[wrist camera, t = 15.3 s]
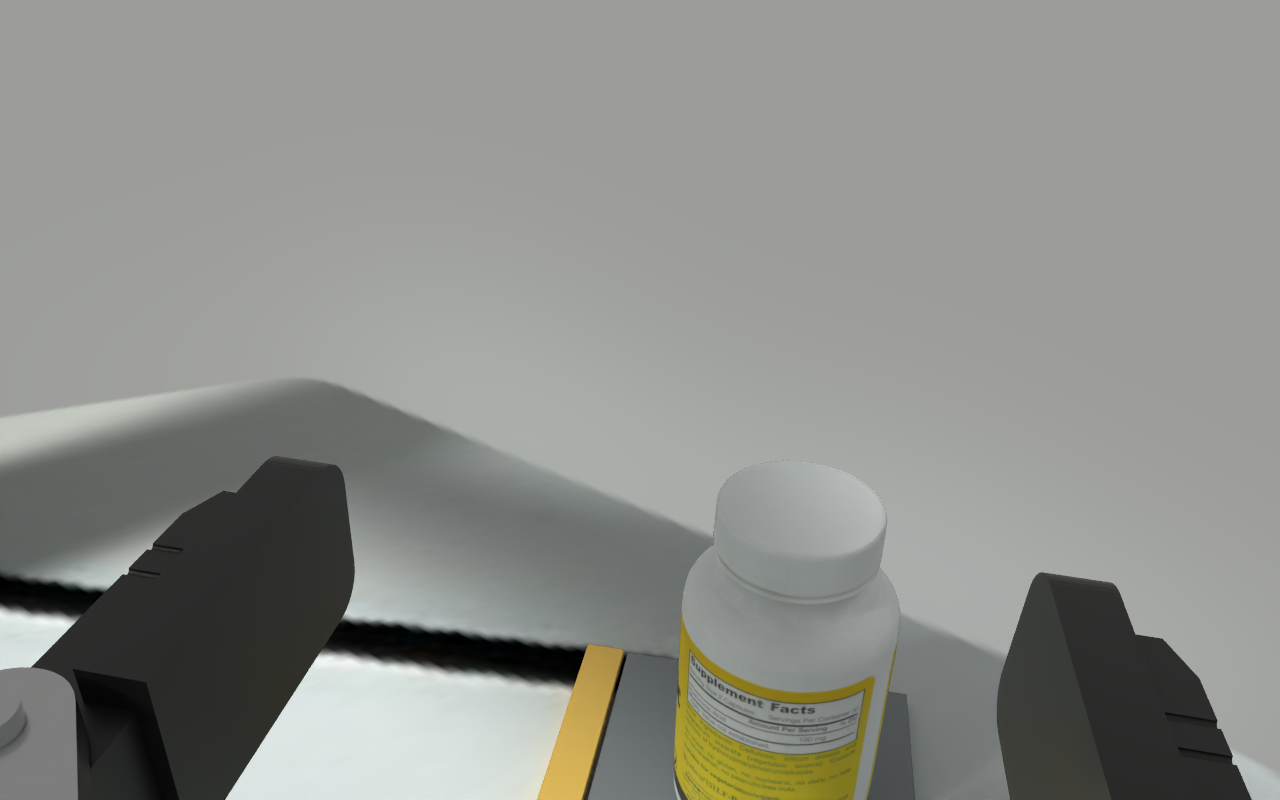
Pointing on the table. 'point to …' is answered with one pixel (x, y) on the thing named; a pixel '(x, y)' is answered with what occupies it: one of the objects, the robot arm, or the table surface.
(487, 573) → the table surface
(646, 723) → the mat
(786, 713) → the supplement bottle
